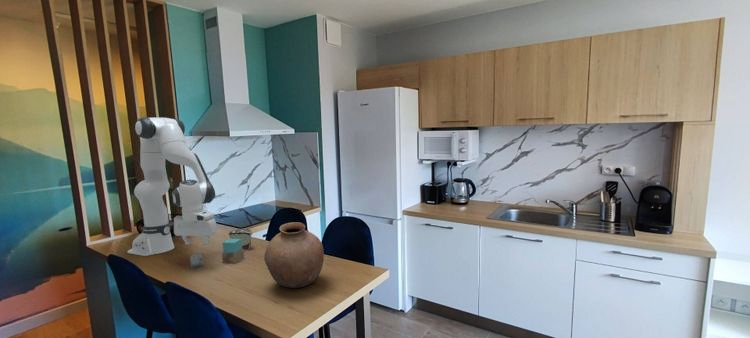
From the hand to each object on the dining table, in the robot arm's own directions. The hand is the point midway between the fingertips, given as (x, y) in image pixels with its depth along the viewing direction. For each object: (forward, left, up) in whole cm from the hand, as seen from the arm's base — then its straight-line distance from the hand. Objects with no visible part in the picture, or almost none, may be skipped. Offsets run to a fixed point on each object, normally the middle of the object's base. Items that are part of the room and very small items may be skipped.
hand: (197, 244), depth 166 cm
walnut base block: (+12, +9, -11) cm, 18 cm away
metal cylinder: (-1, 0, -11) cm, 11 cm away
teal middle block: (+12, +9, -6) cm, 16 cm away
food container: (+7, +26, -11) cm, 29 cm away
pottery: (+54, -12, -11) cm, 57 cm away
